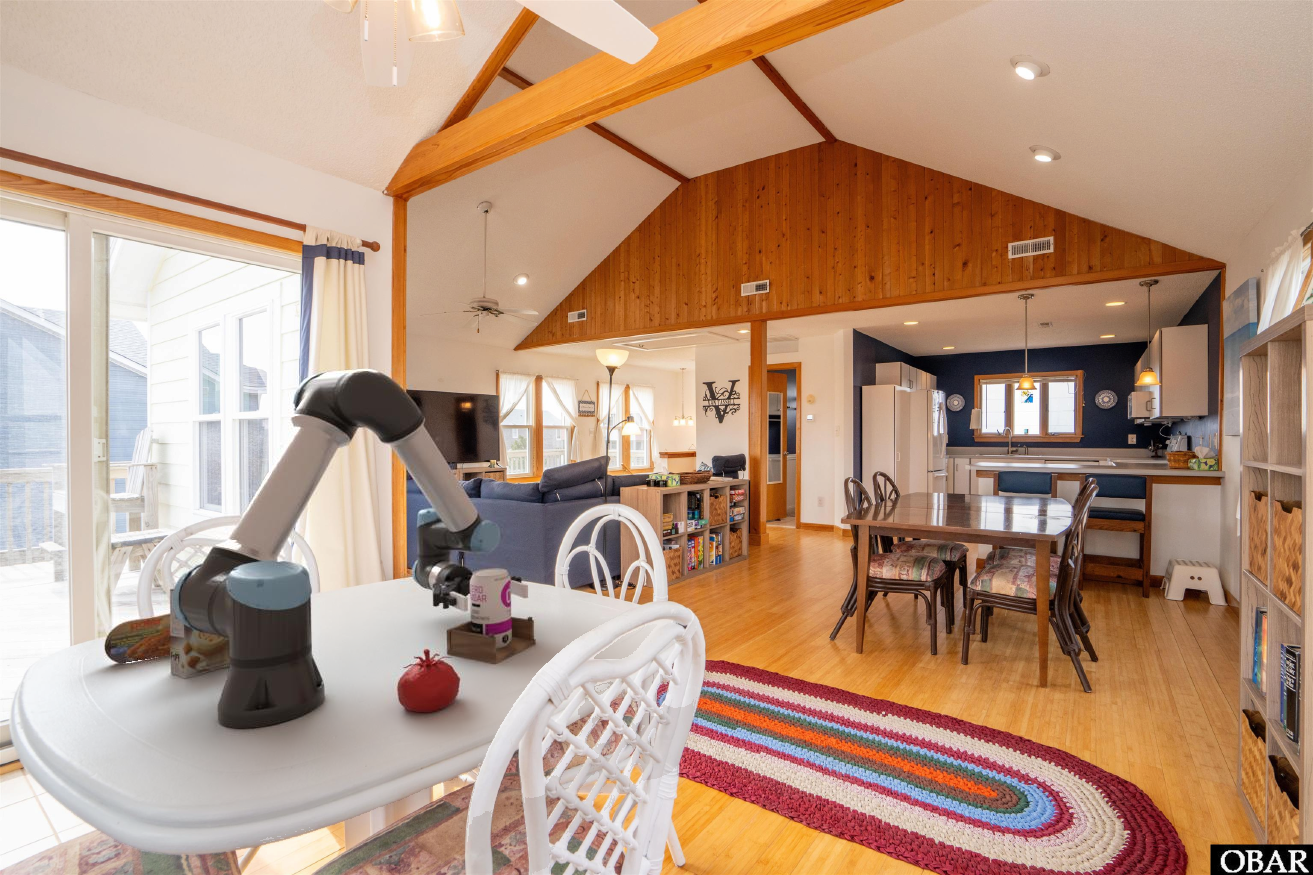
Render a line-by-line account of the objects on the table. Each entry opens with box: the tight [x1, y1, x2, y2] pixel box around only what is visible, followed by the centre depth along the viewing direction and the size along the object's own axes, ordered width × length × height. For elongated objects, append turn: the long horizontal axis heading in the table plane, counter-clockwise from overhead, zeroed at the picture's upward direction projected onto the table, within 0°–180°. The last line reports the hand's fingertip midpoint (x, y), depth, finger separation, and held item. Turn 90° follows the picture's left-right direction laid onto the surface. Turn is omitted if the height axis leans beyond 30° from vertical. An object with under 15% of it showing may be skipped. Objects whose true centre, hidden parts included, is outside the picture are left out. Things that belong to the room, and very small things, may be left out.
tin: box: [104, 612, 170, 664], centre depth 130 cm, size 15×3×8 cm, turn 133°
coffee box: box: [169, 588, 230, 679], centre depth 123 cm, size 9×6×16 cm
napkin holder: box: [446, 616, 537, 665], centre depth 131 cm, size 13×13×6 cm
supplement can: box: [469, 567, 512, 649], centre depth 131 cm, size 8×8×15 cm
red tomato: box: [396, 648, 461, 714], centre depth 105 cm, size 10×10×9 cm
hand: (497, 597), depth 129 cm, fingers open, 13 cm apart
